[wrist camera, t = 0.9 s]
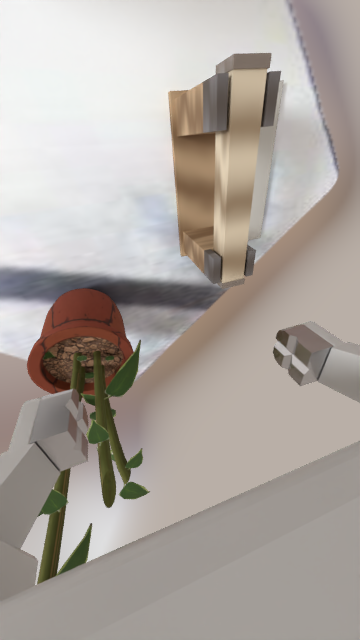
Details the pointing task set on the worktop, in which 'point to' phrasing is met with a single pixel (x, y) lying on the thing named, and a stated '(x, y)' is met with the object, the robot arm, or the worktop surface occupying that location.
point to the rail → (237, 161)
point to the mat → (263, 172)
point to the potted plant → (94, 386)
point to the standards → (205, 164)
